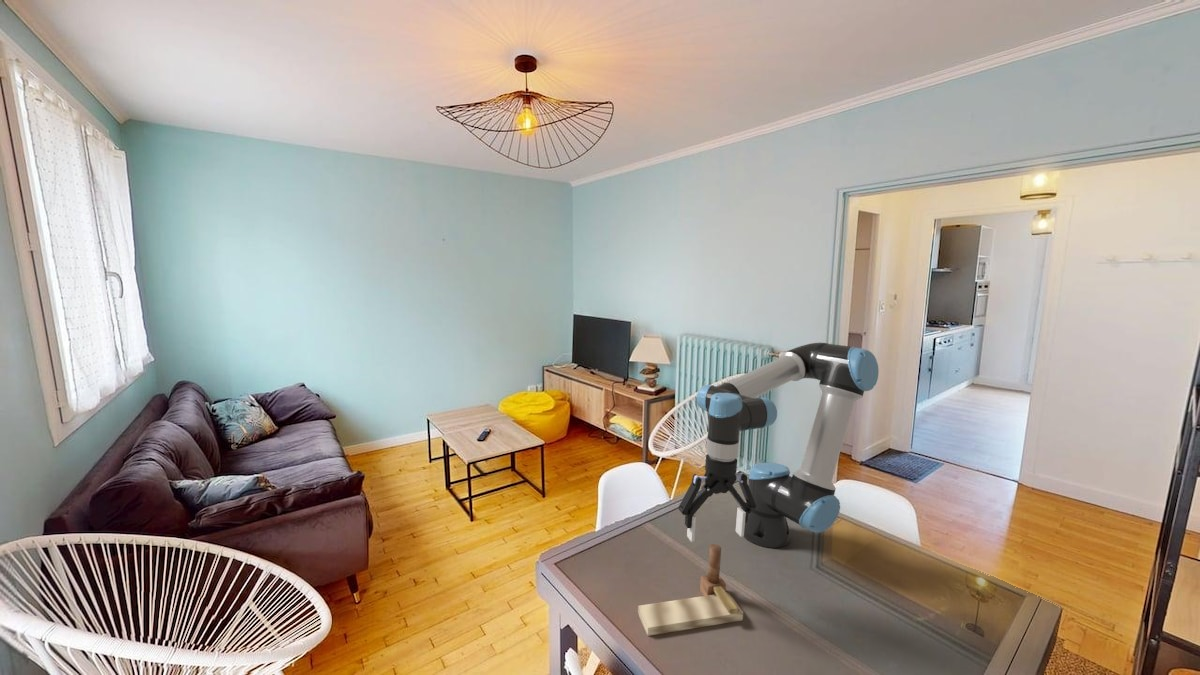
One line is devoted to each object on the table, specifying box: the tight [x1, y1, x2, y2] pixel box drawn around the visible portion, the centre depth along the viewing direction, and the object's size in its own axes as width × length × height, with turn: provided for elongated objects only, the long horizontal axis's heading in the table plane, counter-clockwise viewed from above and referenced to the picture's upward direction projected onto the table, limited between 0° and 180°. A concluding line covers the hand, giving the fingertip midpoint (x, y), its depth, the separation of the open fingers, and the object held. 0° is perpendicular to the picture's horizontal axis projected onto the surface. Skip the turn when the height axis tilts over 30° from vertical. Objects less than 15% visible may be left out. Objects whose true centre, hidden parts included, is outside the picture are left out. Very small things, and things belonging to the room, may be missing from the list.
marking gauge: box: [699, 543, 737, 613], centre depth 109 cm, size 5×12×13 cm, turn 13°
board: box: [637, 592, 744, 637], centre depth 106 cm, size 24×7×2 cm, turn 103°
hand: (715, 536), depth 112 cm, fingers open, 13 cm apart
